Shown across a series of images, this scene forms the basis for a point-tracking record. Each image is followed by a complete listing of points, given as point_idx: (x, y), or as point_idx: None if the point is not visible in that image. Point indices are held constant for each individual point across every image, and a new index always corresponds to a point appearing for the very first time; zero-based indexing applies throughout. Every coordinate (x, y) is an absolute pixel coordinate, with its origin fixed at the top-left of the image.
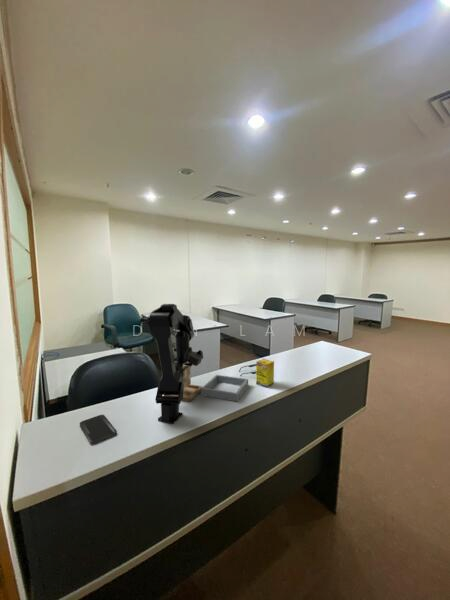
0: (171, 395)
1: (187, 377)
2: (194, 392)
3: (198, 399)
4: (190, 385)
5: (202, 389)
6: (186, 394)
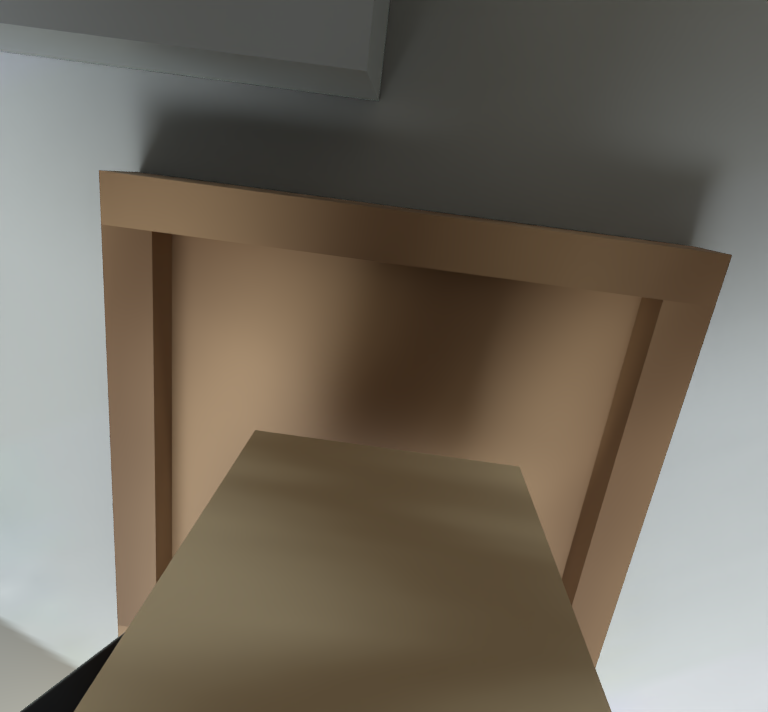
0: (613, 606)
1: (407, 634)
2: (433, 246)
3: (557, 106)
4: (150, 437)
5: (371, 42)
6: (457, 392)
